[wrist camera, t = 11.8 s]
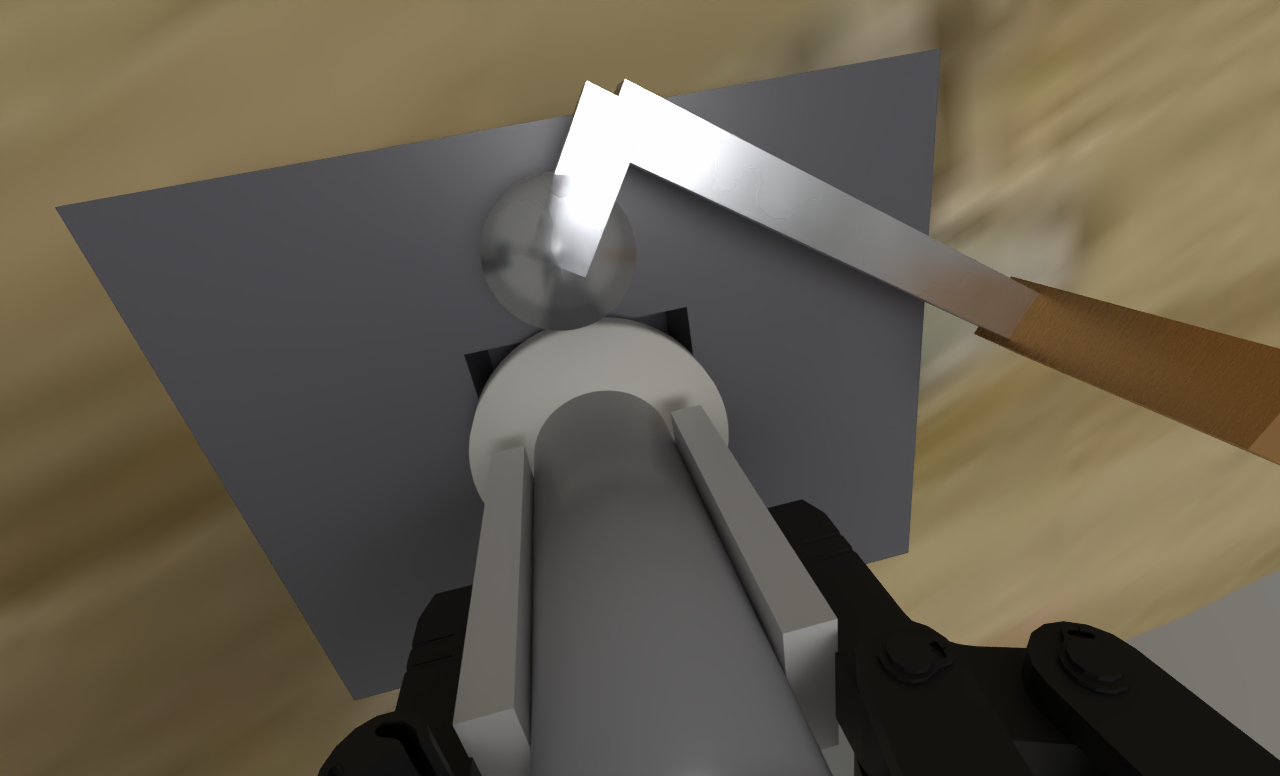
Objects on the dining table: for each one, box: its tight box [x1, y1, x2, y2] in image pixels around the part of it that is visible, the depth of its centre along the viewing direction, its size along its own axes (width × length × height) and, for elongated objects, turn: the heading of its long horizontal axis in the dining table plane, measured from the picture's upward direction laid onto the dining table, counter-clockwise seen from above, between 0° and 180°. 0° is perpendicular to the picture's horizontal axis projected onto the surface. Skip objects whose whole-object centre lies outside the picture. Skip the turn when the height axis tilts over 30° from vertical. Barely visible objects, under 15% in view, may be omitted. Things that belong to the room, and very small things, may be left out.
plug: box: [469, 317, 833, 776], centre depth 12 cm, size 7×7×14 cm
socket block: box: [55, 48, 941, 700], centre depth 16 cm, size 20×16×6 cm
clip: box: [480, 79, 1280, 465], centre depth 10 cm, size 5×14×6 cm, turn 67°
